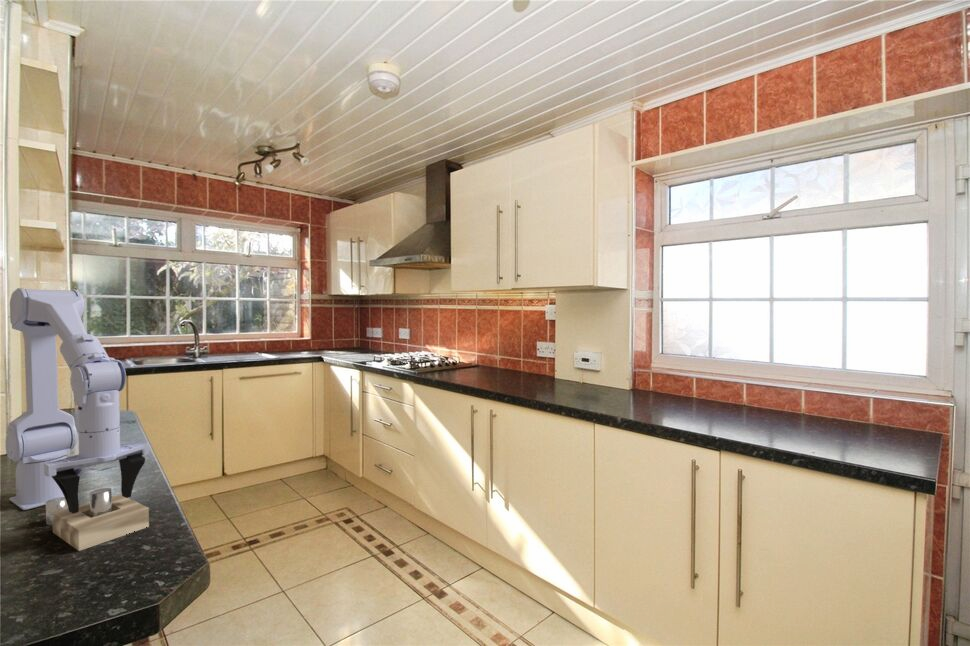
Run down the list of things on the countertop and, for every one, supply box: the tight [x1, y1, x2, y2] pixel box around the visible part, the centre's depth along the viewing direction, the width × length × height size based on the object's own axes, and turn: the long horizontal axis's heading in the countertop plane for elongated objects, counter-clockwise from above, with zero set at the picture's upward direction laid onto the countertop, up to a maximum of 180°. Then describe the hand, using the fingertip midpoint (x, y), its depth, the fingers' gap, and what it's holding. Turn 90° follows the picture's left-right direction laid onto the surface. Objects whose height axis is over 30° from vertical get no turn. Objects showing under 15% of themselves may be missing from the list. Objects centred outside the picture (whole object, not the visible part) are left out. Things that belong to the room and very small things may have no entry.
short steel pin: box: [45, 497, 68, 526], centre depth 85 cm, size 3×3×4 cm
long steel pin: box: [89, 487, 112, 518], centre depth 82 cm, size 3×3×7 cm
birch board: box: [52, 493, 150, 552], centre depth 82 cm, size 12×10×4 cm
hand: (101, 503), depth 82 cm, fingers open, 7 cm apart
